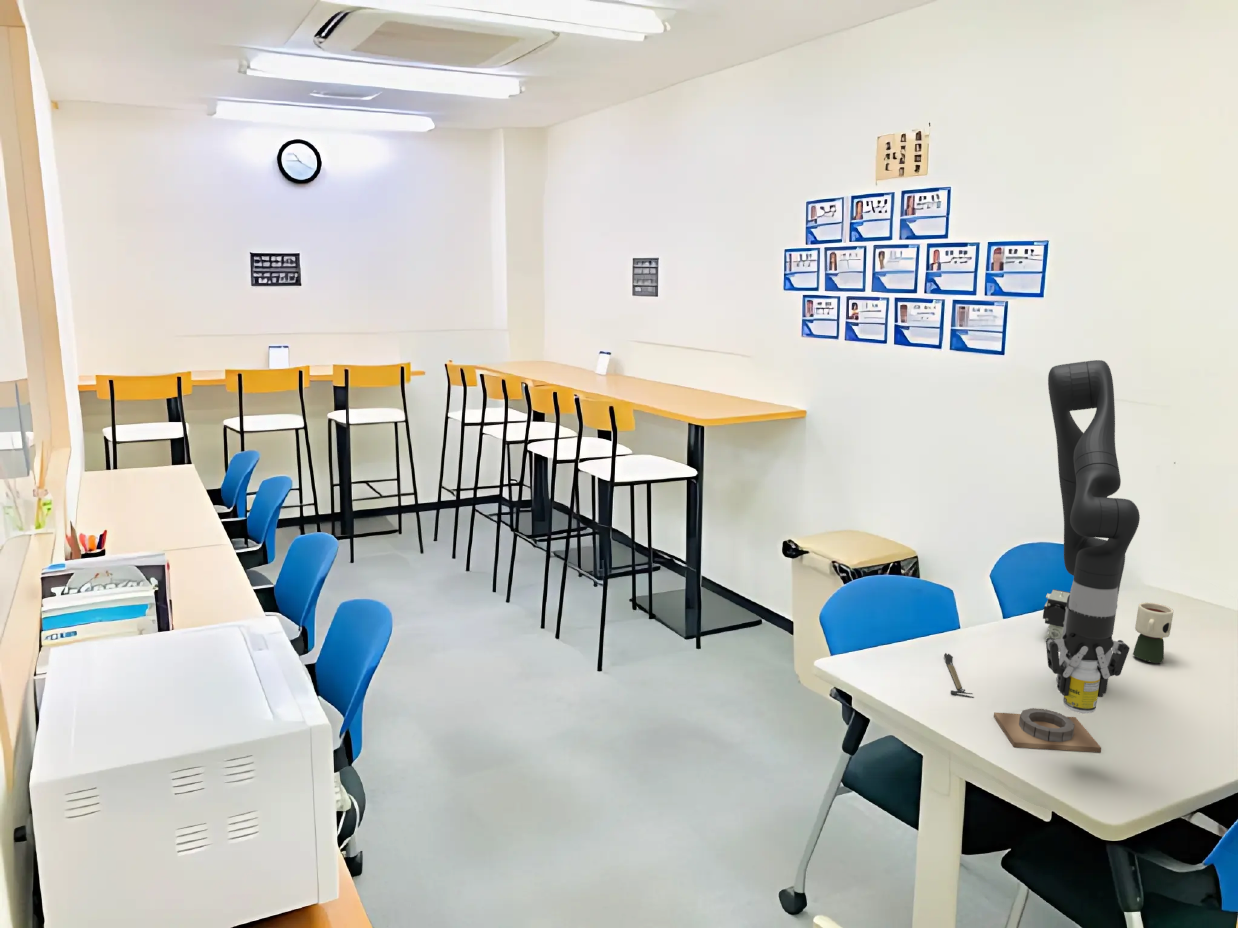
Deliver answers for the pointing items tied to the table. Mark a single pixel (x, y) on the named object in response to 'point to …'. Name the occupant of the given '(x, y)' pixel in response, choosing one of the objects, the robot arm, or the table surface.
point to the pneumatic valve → (1055, 613)
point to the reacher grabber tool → (955, 677)
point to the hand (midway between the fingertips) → (1080, 694)
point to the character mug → (1152, 631)
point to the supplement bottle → (1083, 687)
